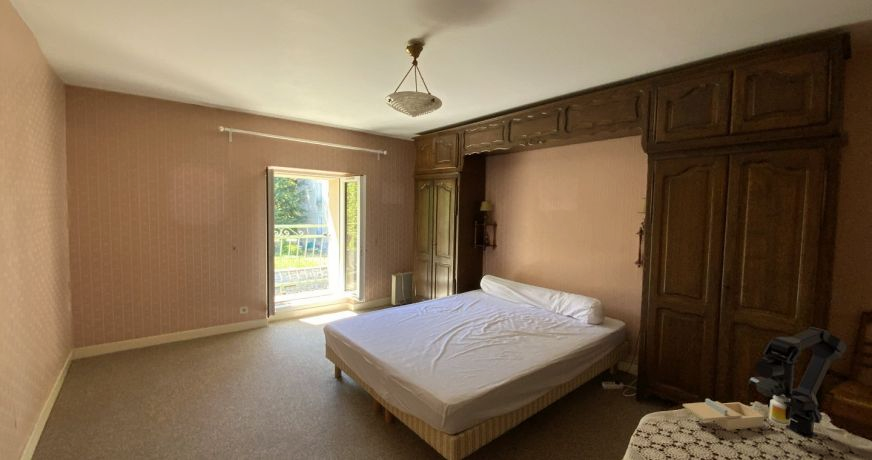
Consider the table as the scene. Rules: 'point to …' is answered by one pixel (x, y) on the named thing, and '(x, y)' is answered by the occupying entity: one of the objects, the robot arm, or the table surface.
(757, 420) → the wooden box
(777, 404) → the supplement bottle
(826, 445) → the table surface
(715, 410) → the lid
